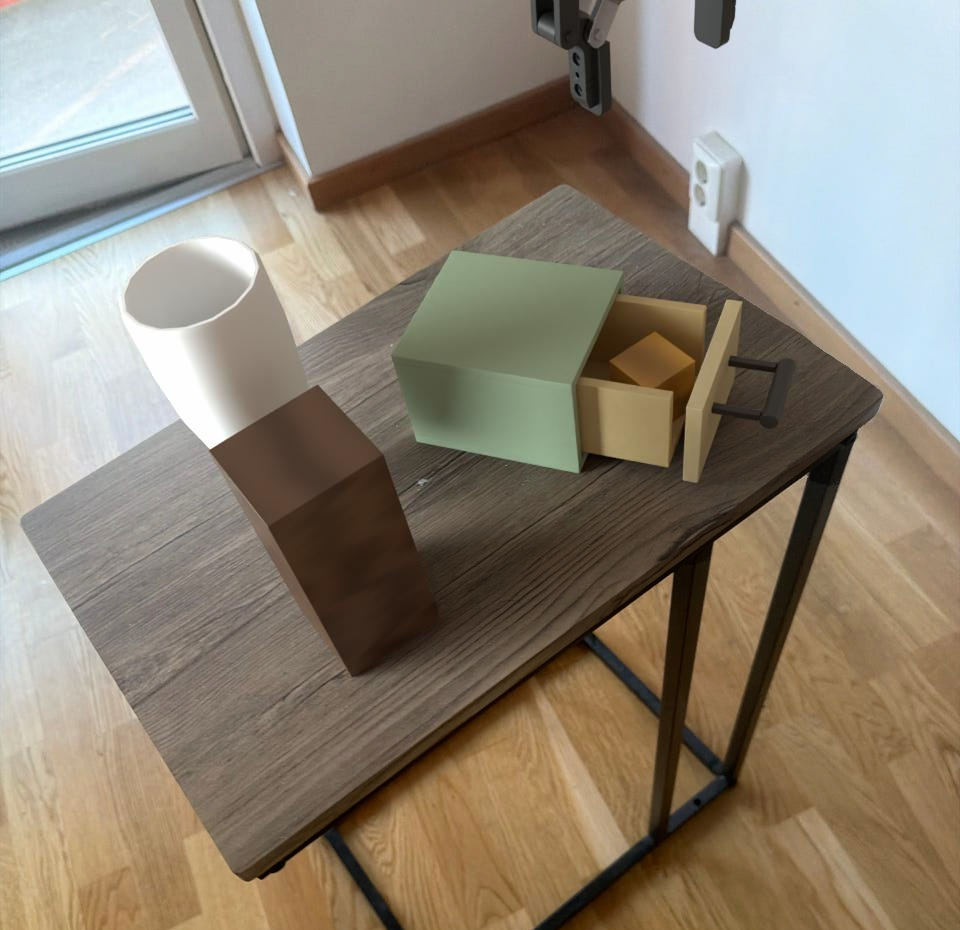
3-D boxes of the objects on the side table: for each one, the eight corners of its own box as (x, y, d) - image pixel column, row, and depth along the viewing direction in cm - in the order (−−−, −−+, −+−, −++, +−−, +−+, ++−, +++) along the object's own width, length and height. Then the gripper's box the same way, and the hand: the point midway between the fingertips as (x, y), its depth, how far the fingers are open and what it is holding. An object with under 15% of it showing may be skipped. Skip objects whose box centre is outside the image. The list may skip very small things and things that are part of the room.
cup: (376, 506, 76) (291, 288, 58) (262, 567, 75) (139, 362, 57) (325, 431, 82) (233, 209, 64) (218, 486, 80) (93, 275, 62)
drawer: (795, 388, 75) (810, 309, 68) (762, 495, 70) (774, 422, 63) (577, 354, 81) (571, 279, 74) (533, 451, 76) (522, 379, 69)
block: (654, 379, 76) (654, 330, 72) (693, 408, 74) (695, 360, 70) (610, 408, 75) (608, 360, 71) (648, 438, 73) (648, 391, 69)
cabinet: (626, 365, 80) (623, 270, 72) (579, 474, 75) (571, 385, 67) (471, 340, 85) (452, 249, 77) (416, 442, 79) (390, 355, 71)
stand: (385, 552, 74) (317, 383, 59) (441, 617, 70) (383, 454, 55) (300, 608, 72) (207, 449, 57) (352, 678, 68) (267, 527, 53)
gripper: (578, -243, 36) (597, 159, 49) (850, -373, 38) (796, 42, 52) (467, -276, 39) (514, 107, 53) (722, -392, 42) (704, 0, 56)
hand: (654, 74), depth 53 cm, fingers open, 8 cm apart
